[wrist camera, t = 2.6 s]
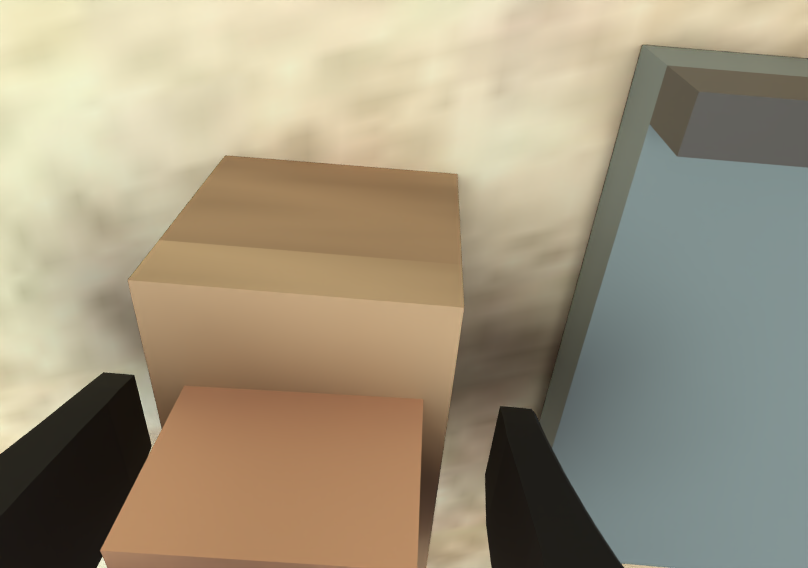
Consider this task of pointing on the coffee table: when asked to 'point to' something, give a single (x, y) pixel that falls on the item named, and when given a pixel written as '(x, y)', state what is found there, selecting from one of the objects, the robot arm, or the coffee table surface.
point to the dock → (695, 320)
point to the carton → (276, 484)
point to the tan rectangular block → (311, 291)
